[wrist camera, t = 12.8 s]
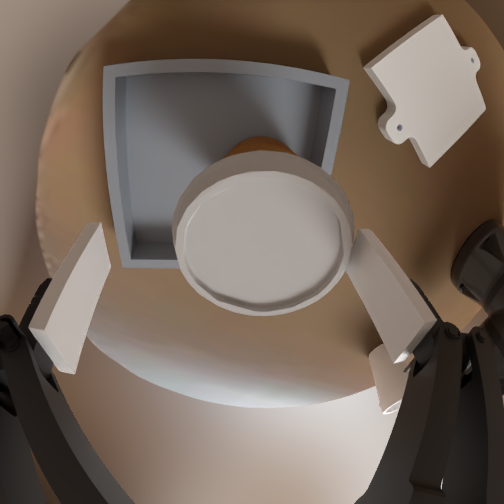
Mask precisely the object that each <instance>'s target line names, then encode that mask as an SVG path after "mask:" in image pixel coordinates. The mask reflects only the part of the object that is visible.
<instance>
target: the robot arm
mask: <svg viewBox="0 0 504 504" xmlns="http://www.w3.org/2000/svg"><path fill="white" fill-rule="evenodd" d="M110 268H111V264H110V260H109V256H108V252H107V248H106V243H105V239H104V234H103V229H102V224H101V222H88V223H87V225H86V226H85V227H84V229H83V230H82V232H81V233H80V235H79V236H78V238H77V239H76V241H75V242H74V244H73V246H72V247H71V249H70V250H69V252H68V253H67V255H66V257H65V258H64V260H63V262H62V263H61V265H60V267H59V268H58V270H57V272H56V274H55V275H54V277H53V279H51V278H47V279H46V280H45V281H44V282H43V283H42V284H41V285H40V286H39V288H38V290H37V291H36V293H35V297H33V299H32V301H31V304H29V307H28V308H27V310H26V312H25V314H24V316H23V318H22V321H21V323H20V325H19V326H18V324H17V322H16V321H15V319H14V318H13V317H12V316H11V315H6V314H5V315H2V316H0V504H48V503H47V500H46V498H45V495H44V493H43V490H42V487H41V485H40V481H39V478H38V475H37V472H36V469H35V466H34V462H33V458H32V455H31V451H30V447H31V450H32V452H33V454H34V456H35V458H36V460H37V462H38V464H39V466H40V468H41V470H42V472H43V474H44V476H45V477H46V479H47V481H48V483H49V485H50V486H51V488H52V490H53V491H54V493H55V495H56V496H57V498H58V499H59V501H60V502H61V504H135V503H134V502H133V501H132V500H131V499H130V497H129V496H128V495H127V494H126V493H125V491H124V490H123V489H122V488H121V487H120V485H119V484H118V483H117V481H116V480H115V479H114V478H113V476H112V475H111V473H110V472H109V471H108V469H107V468H106V467H105V465H104V464H103V462H102V461H101V459H100V458H99V456H98V455H97V454H96V452H95V450H94V449H93V447H92V446H91V444H90V443H89V441H88V439H87V438H86V436H85V434H84V433H83V431H82V429H81V428H80V426H79V424H78V422H77V421H76V419H75V417H74V415H73V413H72V411H71V409H70V407H69V405H68V403H67V401H66V399H65V397H64V395H63V393H62V391H61V389H60V387H59V384H58V382H57V380H56V377H55V375H54V374H53V372H52V371H51V370H52V367H53V364H54V365H55V366H56V367H57V369H58V370H59V371H61V372H66V373H71V374H75V372H76V368H77V364H78V361H79V357H80V353H81V350H82V347H83V343H84V339H85V337H86V334H87V330H88V327H89V324H90V321H91V318H92V315H93V313H94V310H95V307H96V304H97V301H98V299H99V296H100V293H101V291H102V288H103V286H104V283H105V280H106V278H107V275H108V273H109V271H110ZM345 271H346V273H347V274H348V276H349V278H350V280H351V281H352V283H353V285H354V287H355V289H356V291H357V292H358V294H359V296H360V298H361V300H362V302H363V304H364V306H365V307H366V309H367V311H368V313H369V315H370V317H371V319H372V321H373V323H374V325H375V327H376V329H377V331H378V333H379V335H380V337H381V339H382V341H383V343H384V345H385V347H386V349H387V351H388V354H389V356H390V358H391V360H392V362H393V363H397V362H401V361H405V360H406V359H407V358H408V357H409V356H410V355H411V353H412V352H413V354H414V356H415V358H414V359H413V360H412V361H411V362H410V363H409V365H408V366H407V367H406V368H405V369H404V371H403V372H404V373H405V372H406V371H407V370H408V369H409V368H410V371H409V373H408V374H409V375H408V379H407V383H406V387H405V391H404V395H403V398H402V402H401V405H400V408H399V412H398V415H397V418H396V421H395V424H394V427H393V430H392V433H391V435H390V438H389V441H388V444H387V446H386V449H385V451H384V454H383V456H382V459H381V461H380V464H379V466H378V468H377V470H376V472H375V475H374V477H373V479H372V481H371V483H370V485H369V488H368V489H367V491H366V492H365V493H364V495H363V496H361V497H360V498H359V499H358V500H357V501H356V502H355V503H354V504H504V226H503V225H501V224H500V223H499V222H498V221H496V220H491V221H488V222H486V223H484V224H483V225H482V226H480V227H479V228H478V229H477V230H476V231H475V232H474V233H473V234H472V235H471V236H470V238H469V239H468V240H467V242H466V243H465V244H464V246H463V247H462V249H461V251H460V252H459V254H458V256H457V258H456V260H455V263H454V265H453V268H452V272H451V281H452V283H453V285H454V286H455V287H456V288H457V290H458V291H459V292H460V293H462V294H464V295H465V296H467V297H468V298H470V299H471V300H473V301H475V302H476V303H478V304H479V305H481V306H482V308H483V309H484V310H485V312H486V313H487V314H488V318H487V319H486V320H485V321H484V322H483V323H482V324H481V325H480V326H479V327H473V328H472V329H471V331H470V332H469V333H468V334H467V333H460V331H459V329H458V328H457V327H456V326H455V325H453V324H452V323H449V322H443V321H442V319H441V318H440V316H439V315H438V313H437V312H436V310H435V309H434V307H433V306H432V304H431V303H430V301H428V298H427V297H426V296H425V295H424V293H423V291H422V290H421V288H420V287H419V286H418V285H417V284H416V283H415V282H414V281H412V280H411V279H409V278H408V277H407V275H406V274H405V273H404V271H403V270H402V269H401V267H400V266H399V265H398V263H397V262H396V261H395V259H394V258H393V257H392V256H391V254H390V253H389V252H388V250H387V249H386V248H385V247H384V245H383V244H382V243H381V242H380V240H379V239H378V238H377V237H376V235H375V234H374V233H373V232H372V231H371V229H358V232H357V235H356V238H355V241H354V244H353V247H352V250H351V255H350V260H349V263H348V265H347V267H346V269H345ZM483 324H484V325H483ZM497 346H498V347H497ZM500 351H501V352H500ZM29 445H30V447H29ZM442 479H443V484H442V490H441V482H442Z"/></svg>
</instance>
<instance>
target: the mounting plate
mask: <svg viewBox="0 0 504 504" xmlns="http://www.w3.org/2000/svg"><path fill="white" fill-rule="evenodd" d="M363 69H364V70H365V71H366V73H367V74H368V75H369V77H370V78H371V79H372V81H373V82H374V84H375V85H376V86H377V88H378V89H379V91H380V92H381V94H382V95H383V97H384V98H385V100H386V102H387V109H386V111H385V113H384V114H382V115H381V116H380V117H379V119H378V128H379V129H380V131H381V133H382V134H383V136H384V137H385V138H386V139H388V140H390V141H391V142H393V143H395V144H401V143H403V142H404V141H405V140H406V139H407V138H409V139H410V141H411V143H412V145H413V147H414V149H415V151H416V153H417V155H418V157H419V159H420V161H421V163H423V164H424V165H426V166H428V167H429V168H430V167H431V166H432V165H433V164H434V163H435V162H436V161H437V160H438V159H439V158H440V157H441V156H442V155H443V154H444V153H445V152H446V151H447V150H448V149H449V148H450V147H451V146H452V145H453V144H454V143H455V142H456V141H457V140H458V139H459V138H460V137H461V136H462V135H463V134H464V133H465V132H466V130H467V129H468V128H469V127H470V126H471V125H472V124H473V123H474V122H475V121H476V120H477V119H478V118H479V116H480V115H481V114H482V113H483V112H484V111H485V110H486V106H485V103H484V100H483V98H482V95H481V92H480V89H479V87H478V84H477V82H476V72H477V71H478V70H479V69H480V60H479V58H478V56H477V54H476V51H475V50H474V49H473V48H471V47H464V46H460V44H459V42H458V40H457V39H456V37H455V35H454V33H453V31H452V30H451V28H450V26H449V24H448V23H447V21H446V19H445V18H444V16H443V15H433V16H431V17H430V18H428V19H427V20H425V21H424V22H422V23H421V24H419V25H418V26H417V27H415V28H414V29H412V30H411V31H410V32H408V33H407V34H405V35H404V36H403V37H401V38H400V39H399V40H397V41H396V42H395V43H393V44H392V45H391V46H389V47H388V48H387V49H385V50H384V51H383V52H382V53H380V54H379V55H378V56H376V57H375V58H374V59H373V60H371V61H370V62H369V63H368V64H366V65H365V66H364V67H363Z"/></svg>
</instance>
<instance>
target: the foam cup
mask: <svg viewBox="0 0 504 504" xmlns="http://www.w3.org/2000/svg"><path fill="white" fill-rule="evenodd" d="M369 362H370V365H371V369H372V373H373V377H374V381H375V385H376V389H377V393H378V397H379V401H380V402H379V405H380V408H381V410H382V413H383V414H389V413H392V412H394V411H397V410H399V408H400V405H401V402H402V398H403V395H404V391H405V387H406V383H407V379H408V375H409V374H408V373H409V371H410V368H409V369H408V370H407V371H406V372H405V373H404V372H403V371H404V369H405V368H406V367H407V366H408V365H409V362H408V361H407V360H405V361H401V362H397V363H393V362H392V360H391V358H390V356H389V354H388V351H387V349H386V347H385V345H384V344H381V345H380V346H378V347H376V348H375V349H374V350H373V351H371V353H370V354H369Z"/></svg>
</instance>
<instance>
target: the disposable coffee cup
mask: <svg viewBox="0 0 504 504" xmlns="http://www.w3.org/2000/svg"><path fill="white" fill-rule="evenodd" d="M172 236H173V244H174V248H175V251H176V255H177V259H178V263H179V266H180V270H181V271H182V273H183V275H184V276H185V278H186V279H187V281H188V282H189V284H190V285H191V286H192V287H193V288H194V289H195V290H196V291H197V292H198V293H199V294H200V295H202V296H203V297H205V298H206V299H208V300H209V301H211V302H212V303H214V304H216V305H217V306H219V307H222V308H224V309H227V310H230V311H232V312H236V313H241V314H246V315H255V316H271V315H278V314H285V313H289V312H292V311H295V310H298V309H301V308H304V307H306V306H308V305H310V304H312V303H314V302H316V301H317V300H319V299H320V298H321V297H323V296H324V295H325V294H327V293H328V292H329V291H330V290H331V289H332V288H333V287H334V286H335V285H336V284H337V283H338V281H339V280H340V278H341V277H342V275H343V274H344V272H345V269H346V267H347V265H348V263H349V260H350V255H351V250H352V242H353V238H354V220H353V213H352V209H351V206H350V203H349V201H348V199H347V197H346V195H345V193H344V191H343V190H342V189H341V187H340V186H339V185H338V183H337V182H336V181H335V180H334V179H333V178H332V177H331V176H330V175H329V174H328V173H327V172H325V171H324V170H323V169H322V168H321V167H319V166H317V165H315V164H314V163H312V162H310V161H308V160H306V159H304V158H302V157H299V156H297V154H295V153H294V152H293V151H292V150H291V149H289V148H288V147H287V146H286V145H285V144H283V143H282V142H281V141H279V140H276V139H274V138H271V137H265V136H257V137H251V138H248V139H245V140H243V141H241V142H240V143H238V144H237V145H236V146H235V147H234V148H233V149H232V150H231V151H230V152H229V153H228V154H227V155H226V156H225V157H224V158H223V159H222V160H220V161H217V162H215V163H213V164H212V165H210V166H209V167H208V168H206V169H205V170H204V171H202V172H201V173H200V174H198V175H197V176H196V177H195V178H194V179H193V180H192V181H191V183H190V184H189V185H188V187H187V188H186V189H185V191H184V192H183V193H182V195H181V196H180V198H179V201H178V203H177V206H176V209H175V211H174V215H173V222H172Z"/></svg>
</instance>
